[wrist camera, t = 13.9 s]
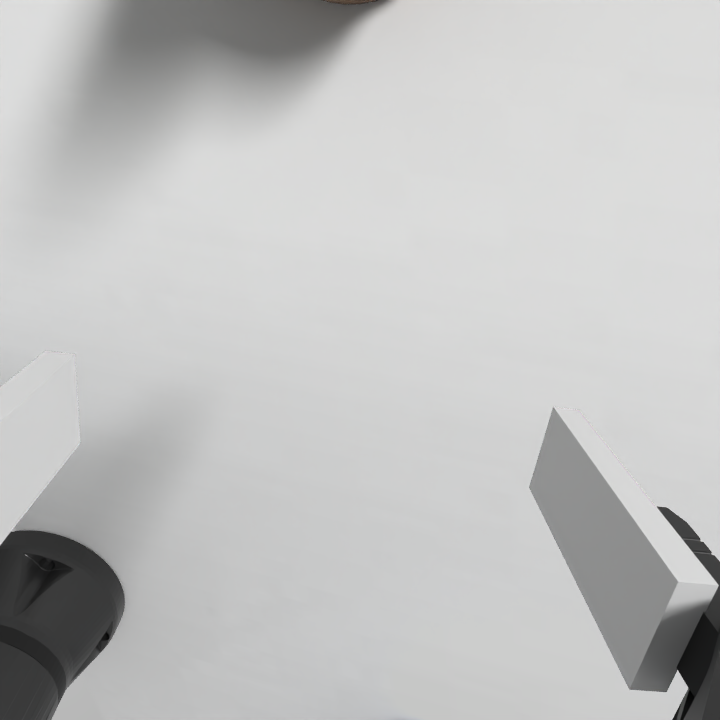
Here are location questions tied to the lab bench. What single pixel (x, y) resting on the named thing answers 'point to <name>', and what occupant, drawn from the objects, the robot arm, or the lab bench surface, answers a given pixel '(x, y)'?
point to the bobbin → (349, 1)
